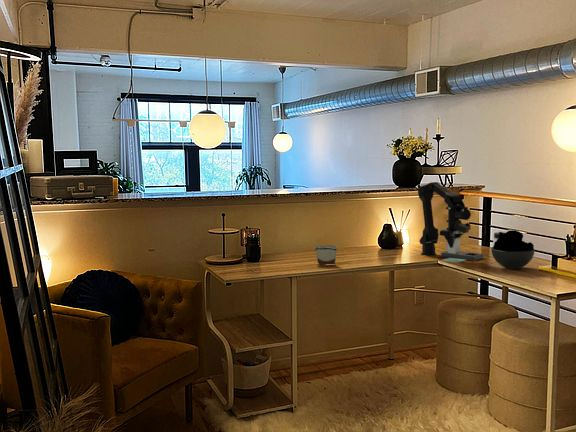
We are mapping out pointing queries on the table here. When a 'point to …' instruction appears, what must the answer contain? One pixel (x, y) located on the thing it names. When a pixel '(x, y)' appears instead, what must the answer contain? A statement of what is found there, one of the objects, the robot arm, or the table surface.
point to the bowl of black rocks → (512, 250)
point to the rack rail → (463, 255)
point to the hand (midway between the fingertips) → (453, 247)
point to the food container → (326, 254)
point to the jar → (496, 237)
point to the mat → (453, 260)
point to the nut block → (455, 246)
